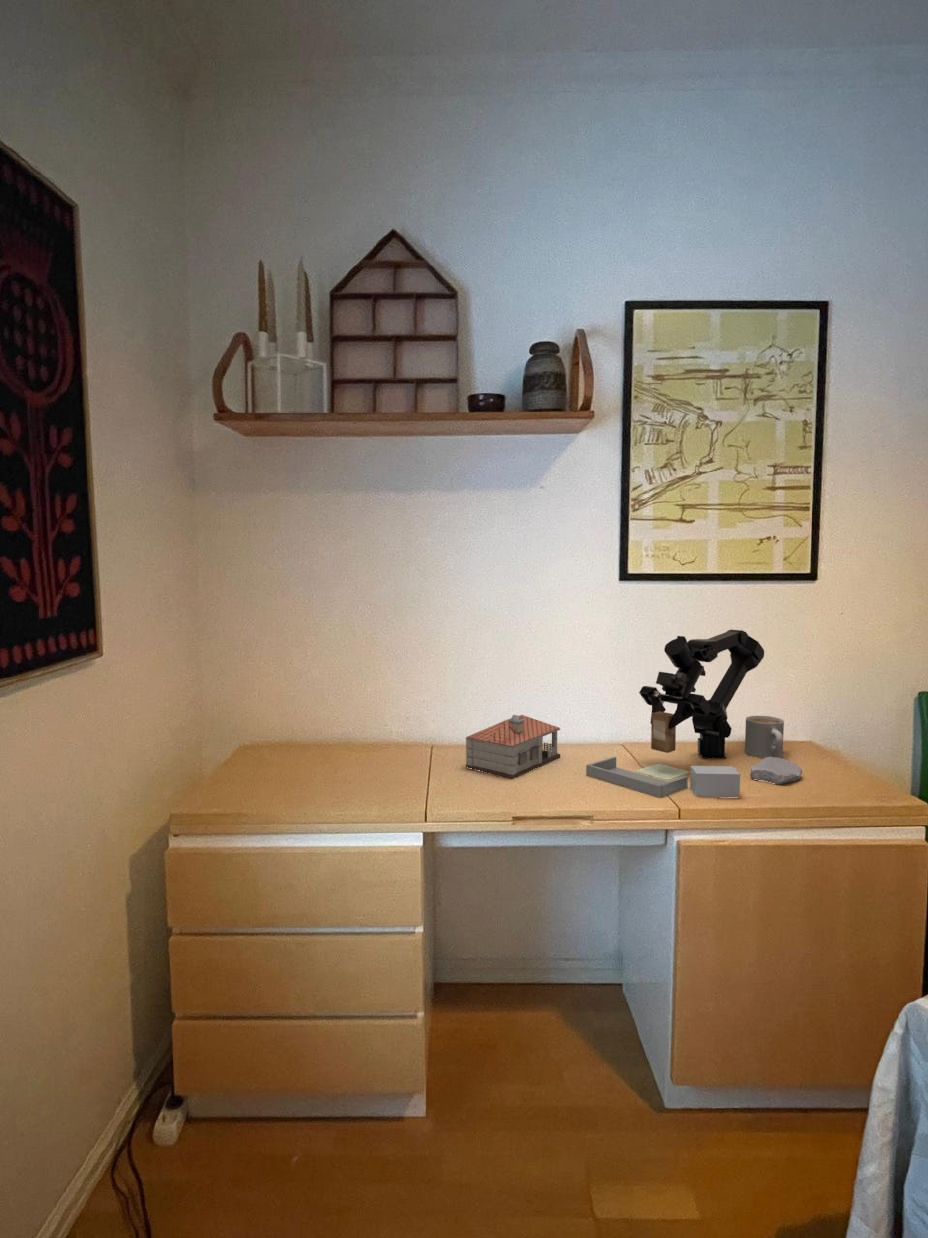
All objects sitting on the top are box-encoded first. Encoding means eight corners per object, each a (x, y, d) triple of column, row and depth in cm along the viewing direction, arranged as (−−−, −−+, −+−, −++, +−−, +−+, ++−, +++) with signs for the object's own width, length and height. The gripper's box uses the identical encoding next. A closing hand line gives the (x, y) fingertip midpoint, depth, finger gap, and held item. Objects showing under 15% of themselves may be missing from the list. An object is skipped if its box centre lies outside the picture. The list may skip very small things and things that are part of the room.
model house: (513, 780, 185) (513, 723, 183) (465, 769, 194) (465, 714, 193) (561, 758, 203) (561, 706, 202) (515, 749, 213) (515, 699, 211)
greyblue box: (732, 790, 175) (733, 766, 174) (739, 799, 169) (740, 774, 168) (690, 789, 176) (690, 765, 175) (695, 798, 170) (696, 773, 169)
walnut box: (659, 746, 191) (659, 711, 190) (675, 750, 187) (675, 714, 186) (650, 749, 189) (651, 713, 188) (667, 753, 185) (667, 716, 184)
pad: (658, 764, 195) (658, 763, 195) (690, 773, 188) (690, 771, 188) (635, 772, 189) (635, 770, 189) (667, 781, 181) (667, 780, 181)
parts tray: (613, 767, 193) (613, 756, 193) (687, 788, 176) (687, 776, 176) (586, 776, 186) (586, 765, 186) (660, 799, 169) (660, 786, 169)
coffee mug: (740, 749, 210) (741, 715, 209) (775, 749, 209) (776, 715, 208) (755, 762, 196) (756, 726, 196) (792, 763, 196) (794, 727, 195)
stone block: (803, 783, 185) (765, 768, 191) (807, 766, 183) (769, 751, 190) (785, 797, 176) (746, 780, 183) (789, 779, 175) (749, 763, 182)
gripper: (643, 656, 195) (617, 702, 189) (705, 664, 181) (679, 714, 175) (660, 681, 201) (635, 726, 195) (721, 690, 187) (696, 740, 181)
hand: (660, 726), depth 186 cm, fingers closed on walnut box, 5 cm apart
